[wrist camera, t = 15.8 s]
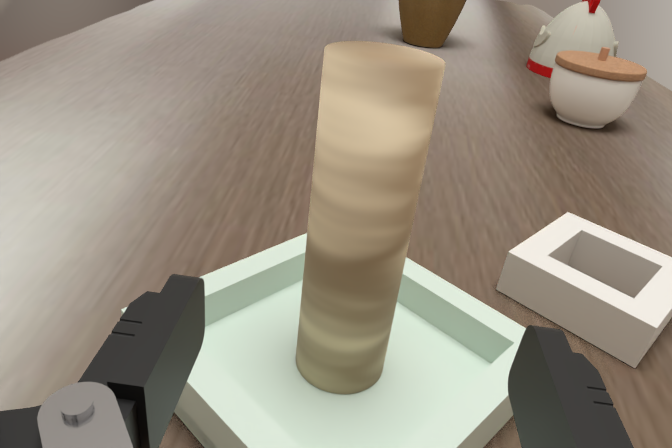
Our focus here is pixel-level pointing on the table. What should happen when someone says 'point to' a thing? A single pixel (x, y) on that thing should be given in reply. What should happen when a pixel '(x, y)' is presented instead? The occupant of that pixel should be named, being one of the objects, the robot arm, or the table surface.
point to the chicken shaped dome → (572, 35)
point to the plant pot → (428, 20)
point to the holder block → (593, 285)
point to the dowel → (362, 206)
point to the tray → (345, 409)
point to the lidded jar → (593, 87)
